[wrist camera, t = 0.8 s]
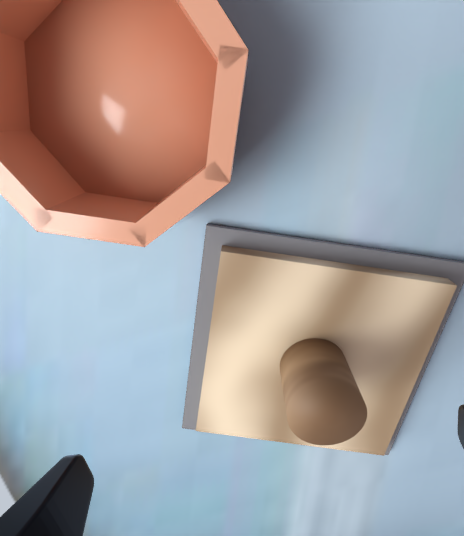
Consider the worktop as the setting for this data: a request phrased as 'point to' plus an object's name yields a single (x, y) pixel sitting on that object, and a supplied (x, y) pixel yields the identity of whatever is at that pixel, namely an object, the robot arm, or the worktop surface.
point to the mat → (302, 248)
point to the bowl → (116, 113)
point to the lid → (315, 349)
